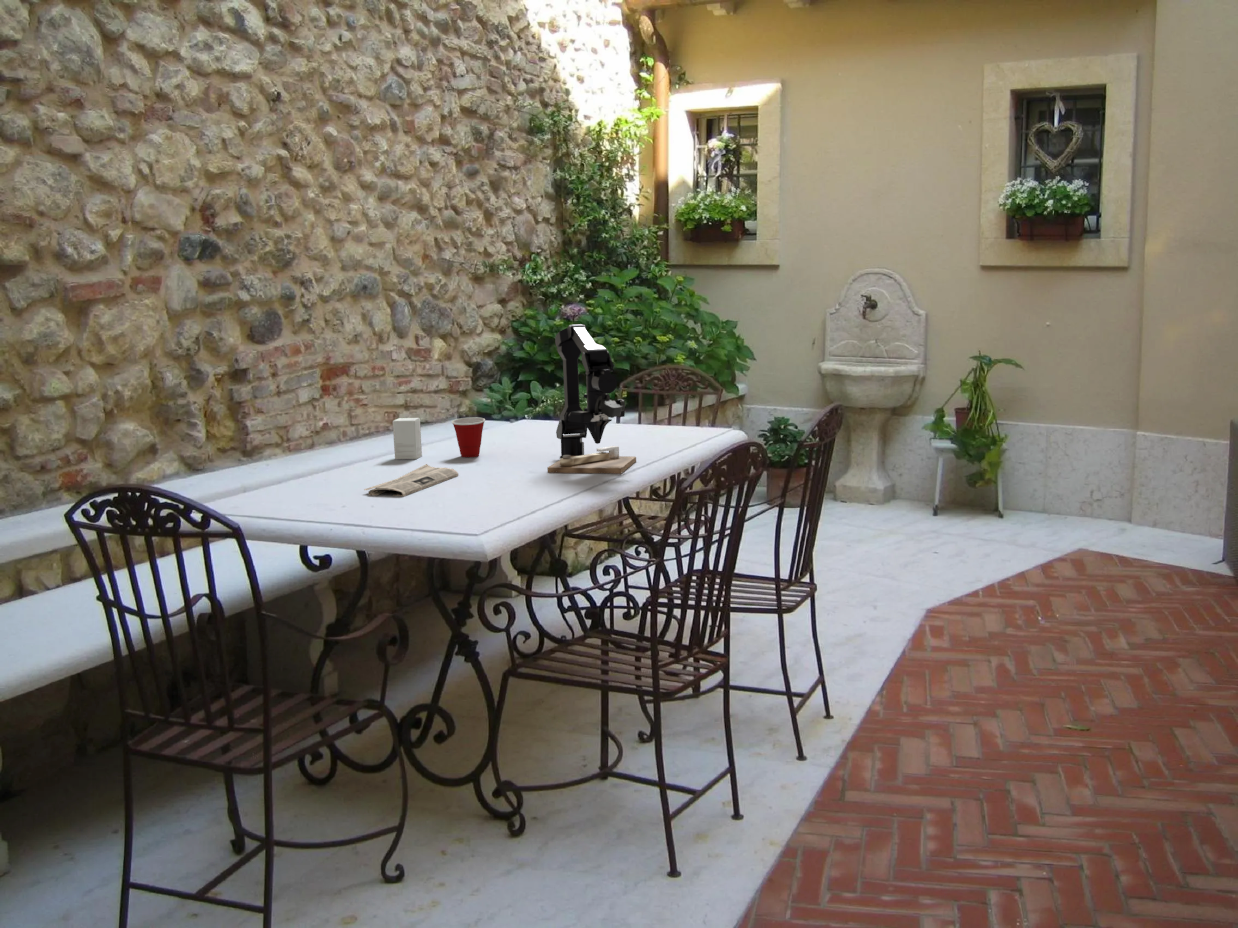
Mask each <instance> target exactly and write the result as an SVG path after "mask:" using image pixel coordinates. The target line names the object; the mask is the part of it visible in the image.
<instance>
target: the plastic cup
mask: <svg viewBox="0 0 1238 928" xmlns="http://www.w3.org/2000/svg"><path fill="white" fill-rule="evenodd" d="M485 421H486V419H485V418H483V417H476V416H475V417H473V416H471V417H470V416H469V417H461V418H456V419H454V420H451V424H452V425H453V428H454V431H455V435H456V439H457V445H458V447H459V453H460V456H461V458H476V457H479V456H480V451H481V446H482V438H483V430H484V425H485Z"/></svg>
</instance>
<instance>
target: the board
mask: <svg viewBox="0 0 1238 928" xmlns="http://www.w3.org/2000/svg"><path fill="white" fill-rule="evenodd" d="M570 457H574V456H570ZM636 462H637V456H623V455H622V456H620V455H619V458H609V459H605V460H599V461H593V462H587V463H581V464H575V465H571V466H561V465H560V459H559V460H558V461H556V462H554V463H551V465H549V466H547V473H549V474H550V473H553V474H559V473H561V474H623V472H625V471H626V470H627V469H629V468H630V467H631V466H632V465H634V464H636Z"/></svg>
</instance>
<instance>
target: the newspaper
mask: <svg viewBox="0 0 1238 928" xmlns="http://www.w3.org/2000/svg"><path fill="white" fill-rule="evenodd" d="M456 477H459V472H458V471H457V470H455V469H454V468H450V467H449V468H448V467H435V466H430V465H429V464H428V463H426V464H424V465H421V466H420V467H418V468H415V469H414V470H412V471H410V472H408V473H405V474H403V475H402V476H399V477H398V478H396V479H395V478H394V479H391V480H388V481H385V482H382V483H378V484H376V485H373V486H370V487H367V488H364V489H363V490H364V491H368V495H369V496H380V495H381V494H385V493H388V492H390V491H393V492H394V491H396V492H398V493H396V494H393V495H391V496H392V497H402V498H404V497H406V496H409V495H411V494H414V493H417V492H419V491H422V490H425V489H427V488H430V487H433V486H436V485H438V484H440V483H443V482H447V481H449V480H452V479H454V478H456Z"/></svg>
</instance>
